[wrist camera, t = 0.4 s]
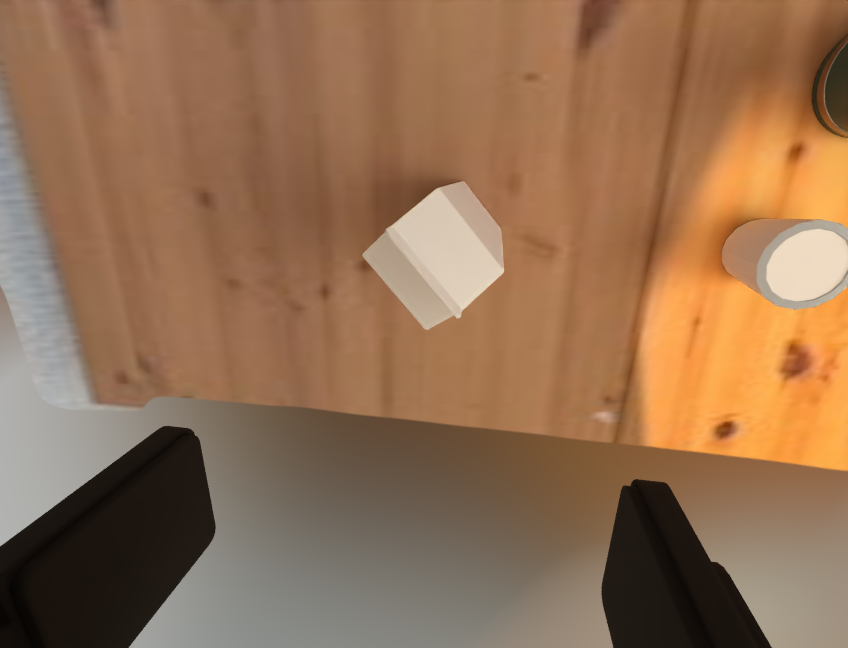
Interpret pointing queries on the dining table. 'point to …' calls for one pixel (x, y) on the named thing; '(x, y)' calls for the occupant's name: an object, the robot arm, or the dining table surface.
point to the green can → (833, 90)
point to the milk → (439, 254)
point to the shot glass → (789, 260)
